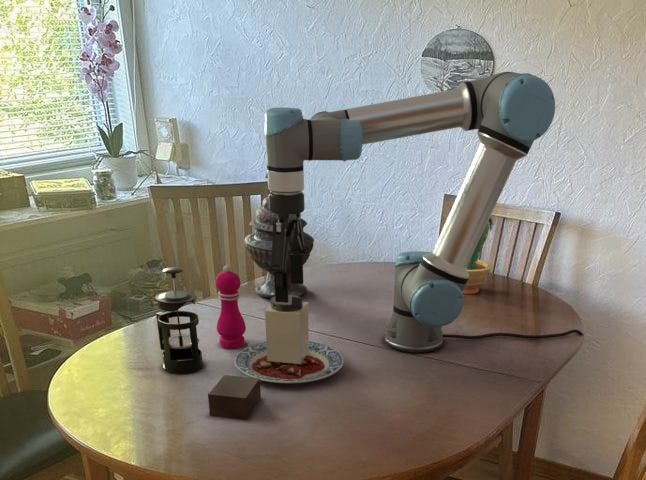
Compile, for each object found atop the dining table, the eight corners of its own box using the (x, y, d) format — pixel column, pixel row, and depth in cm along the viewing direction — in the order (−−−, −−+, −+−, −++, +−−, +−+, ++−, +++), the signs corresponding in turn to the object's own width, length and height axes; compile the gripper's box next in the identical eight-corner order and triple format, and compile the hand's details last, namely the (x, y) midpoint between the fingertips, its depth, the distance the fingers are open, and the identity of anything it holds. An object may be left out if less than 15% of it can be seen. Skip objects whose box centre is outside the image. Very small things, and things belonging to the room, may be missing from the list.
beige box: (292, 365, 171) (335, 327, 164) (284, 378, 165) (328, 339, 158) (248, 319, 167) (290, 278, 160) (238, 331, 160) (281, 289, 153)
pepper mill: (241, 351, 175) (235, 270, 165) (213, 348, 177) (206, 268, 166) (250, 340, 181) (246, 262, 171) (224, 337, 183) (218, 260, 172)
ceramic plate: (301, 401, 152) (301, 388, 151) (212, 372, 164) (211, 360, 162) (364, 363, 171) (364, 351, 170) (279, 340, 182) (279, 329, 181)
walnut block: (261, 399, 153) (260, 378, 150) (246, 420, 144) (245, 398, 142) (225, 395, 154) (224, 374, 151) (209, 416, 145) (207, 394, 143)
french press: (214, 365, 167) (205, 268, 155) (185, 378, 160) (174, 278, 148) (179, 354, 173) (168, 259, 160) (149, 366, 166) (136, 268, 154)
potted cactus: (492, 297, 218) (503, 213, 204) (442, 296, 218) (450, 211, 204) (485, 283, 231) (495, 202, 217) (438, 281, 231) (446, 201, 217)
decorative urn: (277, 276, 227) (275, 160, 206) (326, 293, 218) (330, 174, 197) (232, 293, 214) (226, 172, 193) (283, 313, 205) (282, 187, 184)
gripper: (284, 180, 157) (287, 275, 169) (250, 202, 137) (257, 308, 148) (316, 182, 156) (318, 277, 168) (288, 204, 136) (292, 311, 147)
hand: (289, 292), depth 158 cm, fingers open, 13 cm apart
